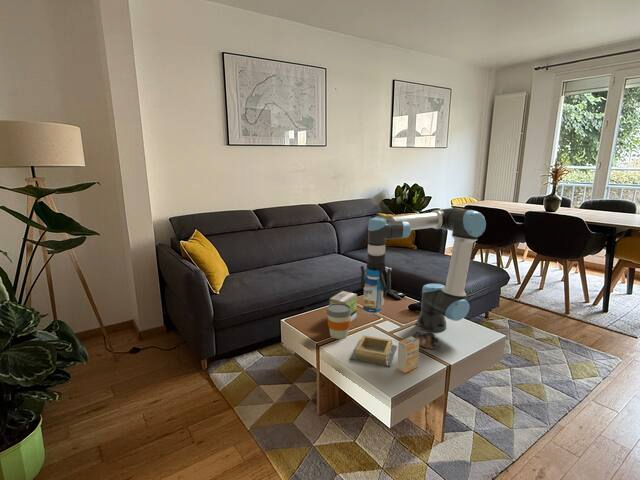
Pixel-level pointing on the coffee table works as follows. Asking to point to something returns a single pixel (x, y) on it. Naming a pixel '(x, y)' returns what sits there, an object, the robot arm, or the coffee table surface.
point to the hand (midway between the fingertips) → (375, 303)
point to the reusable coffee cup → (339, 320)
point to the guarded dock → (374, 351)
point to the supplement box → (408, 354)
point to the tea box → (346, 301)
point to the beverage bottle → (372, 292)
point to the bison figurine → (426, 339)
